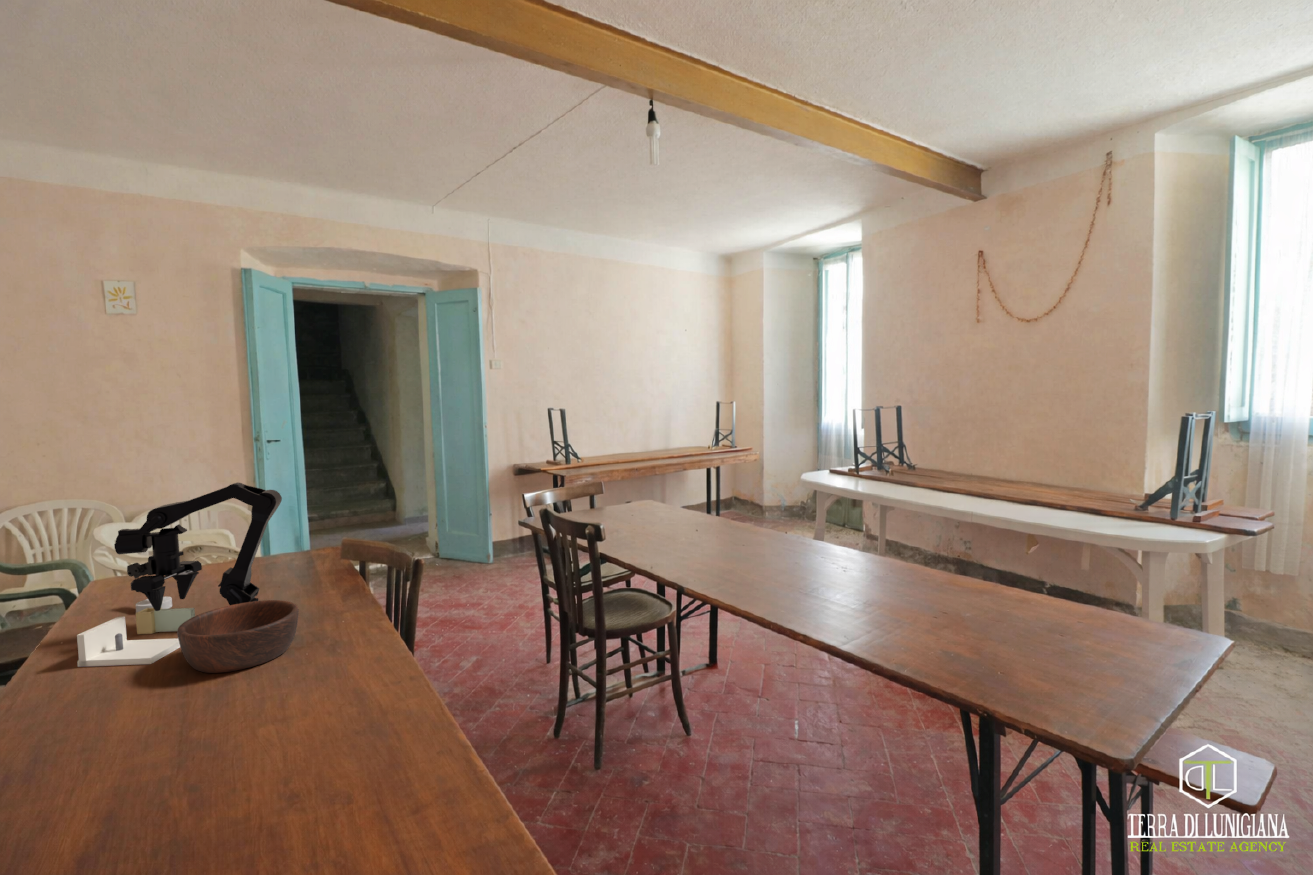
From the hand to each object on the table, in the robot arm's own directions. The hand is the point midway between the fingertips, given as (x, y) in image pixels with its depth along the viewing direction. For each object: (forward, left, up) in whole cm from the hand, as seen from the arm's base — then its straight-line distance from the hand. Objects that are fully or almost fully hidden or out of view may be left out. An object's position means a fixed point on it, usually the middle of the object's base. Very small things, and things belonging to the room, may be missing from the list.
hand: (170, 604), depth 165 cm
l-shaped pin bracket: (-2, +16, -7) cm, 18 cm away
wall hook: (+19, -19, -8) cm, 28 cm away
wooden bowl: (-31, +19, -8) cm, 37 cm away
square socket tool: (+1, 0, -7) cm, 7 cm away
